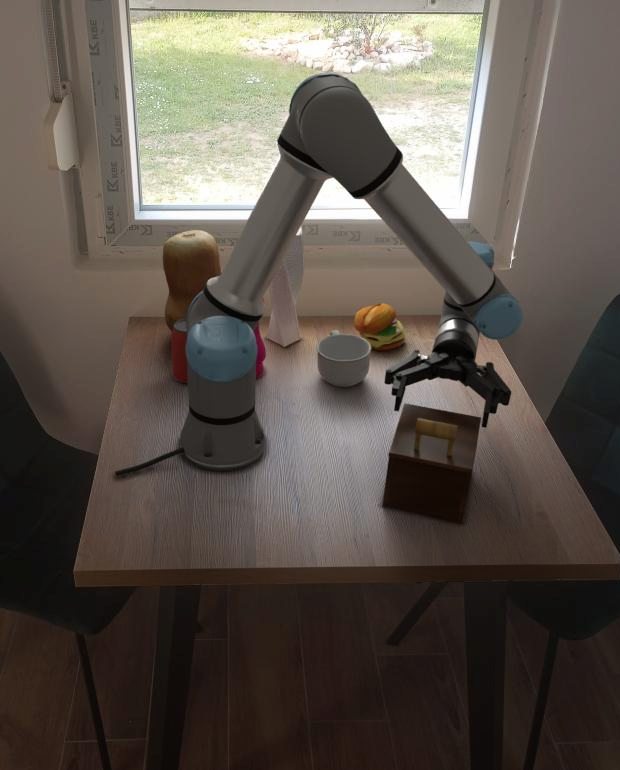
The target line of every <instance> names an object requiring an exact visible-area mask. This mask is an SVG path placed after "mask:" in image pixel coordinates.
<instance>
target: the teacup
mask: <svg viewBox="0 0 620 770" xmlns="http://www.w3.org/2000/svg"><path fill="white" fill-rule="evenodd" d="M371 351H372V348H371V345H370V344H369V342H368V341H367V340H365V339H364V338H362V337H361V336H360V335H355V334H351V333H340V332H339V330H337V329H333V330H331V331H330V333H329V335H328V336H325V337H323V338H321V339H320V340H319V341H318V343H317V344H316V352H317V353H316V354H317V355H316V358H317V360H316V361H317V370H318V373H319V376H320V377H321V378H322V379H323V380H324V381H325V382H327V383H329V384H330V385H332V386H335V387H339V388H349V387H353V386H356V385H357V384H359V383H360V382H362V381H363V380H364V379H365V378H366V377H367V375H368V374H369V369H370V363H371Z"/></svg>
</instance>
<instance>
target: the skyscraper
mask: <svg viewBox="0 0 620 770" xmlns="http://www.w3.org/2000/svg"><path fill="white" fill-rule="evenodd" d="M302 227H303V226H301V227H300V229H299V230H298V232H297V234H296V236H295V238H294V240H293V242H292V244H291V245H290V247H289V249H288V251H287V253H286V255H285V257H284V259H283V260H282V262H281V264H280V266H279V268H278V270H277V272H276V273H275V275H274V277H273V279H272V281H271V283H270V285H269V287H268V288H269V295H270V302H271V306H272V309H271V314H270V318H269V322H268V323H269V324H268V328H267V334H266V339H267V340H269V341H272V342H274V343H276V344H278V345H280V346H282V347H283V348H286V347H287V346H289V345H291V344H294V343H295V342H297V341H300V340H301V334H300V328H299V327H300V326H299V320H298V315H297V309H296V305H297V302H298V299H299V297H300V294H301V289H302V286H303V281H304V275H305V249H304V240H303V228H302Z"/></svg>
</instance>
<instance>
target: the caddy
mask: <svg viewBox="0 0 620 770" xmlns="http://www.w3.org/2000/svg"><path fill="white" fill-rule="evenodd" d="M472 475H473V472H472V473H468V472H463V471H458V470H453V469H448V468H443V467H438V466H433V465H428V464H423V463H418V462H413V461H409V460H404V459H399V458H394V457H389V456H388V461H387V468H386V477H385V483H384V490H383V497H382V508H383V507H384V508H388V509H392V510H397V511H400V512H401V511H402V512H406V513H410V514H414V515H420V516H424V517H428V518H433V519H438V520H442V521H447V522H450V523H456V524H461V525H463V521H464V515H465V511H466V504H467V501H468V496H469V491H470V485H471V480H472Z"/></svg>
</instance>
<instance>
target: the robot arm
mask: <svg viewBox="0 0 620 770" xmlns="http://www.w3.org/2000/svg"><path fill="white" fill-rule="evenodd" d="M277 137H278V138H277V139H276V141H275V144H276V147H277V151H278V153H279V154H278V155H279V156H278V158H277V160H276V162H275V165H274V166H273V168H272V170H271V172H270V174H269V177H268V179H267V181H266V182H265V183H264V186H263V188H262V190H261V192H260V195H259V197H258V198H257V200H256V202H255V205H254V207H253V209H252V211H251V212H250V215H249V217H248V218H247V221H246V222H245V224H244V226H243V228H242V231H241V232H240V235H239V237H238V238H237V241H236V242H235V245H234V247H233V248H232V251H231V253H230V254H229V257H228V259H227V261H226V263H225V265H224V267H223V268H222V270H221V275H220V276H218V277H214V278H211V279H209V280H208V282H207V284H206V286H205V288H204V290H203V291H202V292H200V293H199V294H198V295H197V296H196V297H195V298H194V300H193V301H192V303H191V305H190V307H189V310H188V313H187V318H186V327H187V343H186V357H187V370H188V383H187V393H188V398H187V399H188V412H187V414H186V417H185V420H184V423H183V426H182V428H181V432H180V437H179V448H177V449H174V450H172V451H169V452H167V453H164V454H162V455H160V456H157V457H155V458H152V459H150V460H147V461H145V462H143V463H139V464H137V465H132V466H129V467H126V468H122V469H119V470H115V472H114V474H115V476H116V477H119V476H123V475H128V474H131V473H135V472H137V471H140V470H143V469H146V468H149V467H151V466H154V465H156V464H159V463H160V462H163V461H165V460H168V459H171V458H173V457H175V456H178V455H180V454H181V455H182V457H183V458H184V459H185V460H186V461H187V462H188V463H189V464H191V465H192V466H195V467H197V468H198V469H202V470H206V471H210V472H233V471H239V470H243V469H244V468H245V469H246V468H247V467H249V466H252V465H253V464H255V463H256V462H257V461H259V459H260V458H261V457H262V456H263V454H264V452H265V447H266V435H265V430H264V426H263V424H262V422H261V421H260V417H259V416H258V412H257V410H256V387H257V386H256V385H257V383H256V382H257V378H256V358H257V350H258V349H257V343H256V337H255V334H254V330H255V329H256V327H257V325H258V323H259V324H260V322H261V321H260V319H261V320H262V318H263V316H264V313H265V311H266V305H265V301H264V302H263V299H262V298H264V296H265V294H266V292H267V290H268V288H269V285H270V283H271V281H272V279H273V277H274V275H275V273H276V272H277V270H278V268H279V266H280V264H281V262H282V260H283V259H284V257H285V255H286V253H287V251H288V249H289V247H290V245H291V244H292V242H293V240H294V238H295V236H296V234H297V232H298V230H299V229H300V227H302V225H303V223H304V221H305V219H306V218H307V215H308V214H309V212H310V210H311V208H312V206H313V204H314V203H315V200H316V199H317V197H318V195H319V194H320V192H321V189H322V187H323V186H324V184H325V182H326V181H327V180H330V179H334V180H336V182H338V184H339V185H341V186H342V188H343V189H345V190H346V191H347V193H348V194H349V195H350V196H351V197H352V198H353V199H355V200H364V201H365V202H366V203H367V205H368V206H369V207H370V208H371V209H372V210H373V211H374V213H376V215H377V216H378V217H379V218H380V219H381V220H382V221H383V222H384V223H385V225H387V227H388V228H389V229H390V230H391V231H392V232H393V234H394V235H395V236H396V237H398V239H399V240H400V241H401V242H402V243H403V245H404V246H405V247H406V248H407V249H408V250H409V252H411V253H412V255H413V256H414V257H415V258H416V259H417V260H418V261H419V263H420V264H421V265H422V266H423V267H424V268H425V269H426V270H427V272H429V274H430V275H431V276H432V277H433V279H435V281H436V282H437V283H438V284H439V285H440V286H441V287H442V288H443V289H444V297H443V302H442V308H441V314H440V320H439V324H438V329H437V332H436V335H435V339H434V342H433V346H432V350H431V353H430V354H428V355H423V354H421V351H420V350H419V349H413V350H412V352H411V353H410V354H409V355H408V356H406V357H404V358H403V359H401V360H400V361H397V362H395V363H394V364H393V365H391V366H390V367H388V368H386V369H385V373H384V384H385V385H387V386H390V385H392V386H391V396H392V397H393V396H394V397H395V401H394V409H393V411H394V412H400V409H401V406H402V402H403V399H404V396H405V393H406V387H408V386H410V385H411V386H412V385H414V384H417V383H419V382H423V381H425V380H427V381H432V380H435V379H437V378H439V379H443V380H450V381H455V382H458V381H459V382H460V384H462V385H463V386H464V387H469V388H470V389H471V390H472V391H474V392H475V393H476V394H477V395H478V396H480V397H481V398H482V399H483V400H484V405H483V406H484V407H483V412H482V419H481V428H486V429H487V428H488V422H489V417H490V414H492V415H496V414H497V412H498V406H499V404H501V405H502V406H506V407H507V406H509V405H510V400H511V396H512V390H511V389H510V387H509V386H508V385H507V384H506V382H505V381H504V380H503V378H502V377H501V376H500V375H499V373H498V372H497V371H496V370H495V365H494V363H493V362H492V361H487V362H486V363H485V364H484V365H481V364H478V363H477V362H476V357H477V351H478V346H479V339H480V334H482V336H484V338H486V339H490V340H496V341H497V340H504V339H506V338H509V337H510V336H512V335H513V334H514V333H516V332H517V330H518V329H519V328H520V326H521V324H522V323H523V316H524V314H523V313H524V312H523V310H522V307H521V306H520V304H519V301H518V300H517V299H516V297H515V296H513V294H511V292H510V291H509V290H508V289H507V287H506V286H505V285H504V284H503V282H502V281H501V280H500V278H499V277H498V276H497V274H496V273H495V272H494V271H493V267H494V266H495V251H494V249H493V248H492V247H491V246H490V245H488V244H485V243H482V242H479V241H478V242H477V241H468V240H466V239H465V237H464V236H463V235H462V233H460V232H459V229H457V228H456V227H455V225H454V223H452V222H451V221H450V219H449V218H448V216H446V214H445V213H444V212H443V211H442V210H441V209H440V207H439V206H438V205H437V204H436V203H435V202H434V200H433V199H432V198H431V196H430V195H429V194H428V193H427V192H426V191H425V190H424V188H423V187H422V186H421V184H419V182H418V181H417V180H416V179H415V178H414V176H413V175H412V174H411V173H410V172H409V171H408V169H407V168H406V166H405V165H404V164H403V163H404V162H403V161H404V154H403V152H402V151H401V149H399V147H398V146H397V145H396V144H395V142H394V141H393V139H392V137H391V136H390V135H389V133H388V132H387V131H386V129H385V127H384V125H383V123H382V122H381V120H380V118H379V116H378V114H377V112H376V111H375V109H374V107H373V106H372V104H371V103H370V101H369V100H368V99H367V97H366V96H365V95H364V94H363V93H362V91H361V90H360V88H359V87H358V85H357V84H356V83H355V82H353V81H352V80H350V79H349V78H348V77H346V76H344V75H341V74H339V73H336V72H329V71H328V72H327V71H326V72H318V73H315V74H313V75H310V76H309V77H307V78H305V79H304V80H303V81H302V82H301V83H300V84H299V85H298V86H297V87H296V89H295V90H294V92H293V94H292V96H291V98H290V103H289V108H288V117H287V119H286V121H285V123H284V125H283V127H282V128H281V131H280V133H279V135H278V136H277ZM259 321H260V322H259Z"/></svg>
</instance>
